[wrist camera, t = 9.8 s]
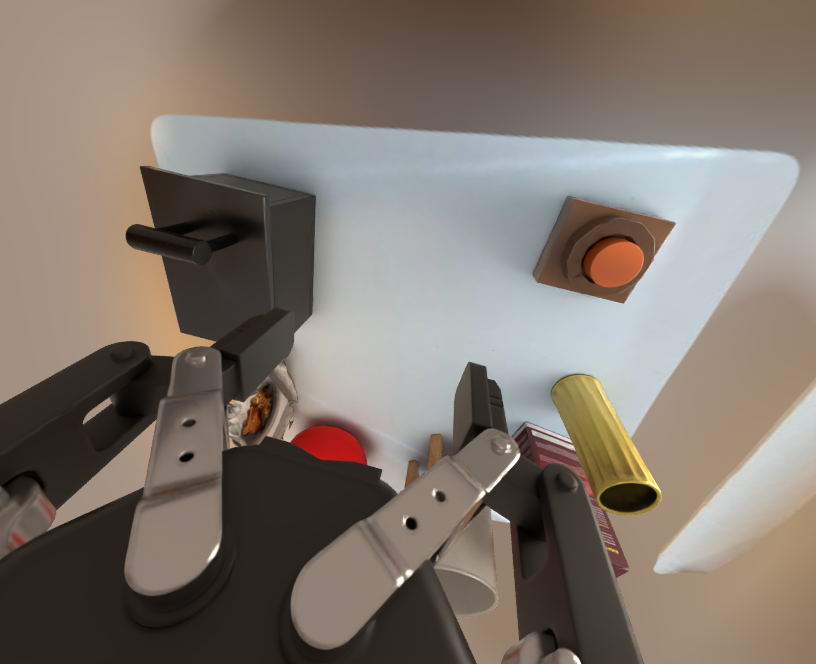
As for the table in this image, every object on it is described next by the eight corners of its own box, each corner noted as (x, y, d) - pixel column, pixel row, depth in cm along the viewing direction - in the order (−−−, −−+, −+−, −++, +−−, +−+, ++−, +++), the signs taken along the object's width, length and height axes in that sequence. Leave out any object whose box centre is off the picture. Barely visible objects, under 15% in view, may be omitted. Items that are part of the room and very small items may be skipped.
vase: (567, 415, 41) (611, 524, 29) (541, 388, 39) (577, 492, 27) (611, 395, 38) (681, 506, 26) (585, 365, 37) (647, 469, 24)
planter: (397, 438, 49) (369, 565, 33) (476, 429, 45) (485, 568, 30) (421, 486, 54) (406, 614, 39) (493, 482, 51) (508, 620, 35)
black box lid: (147, 165, 24) (68, 167, 19) (269, 195, 23) (220, 204, 18) (186, 328, 32) (137, 359, 27) (276, 352, 31) (243, 387, 27)
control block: (567, 196, 28) (582, 201, 24) (662, 218, 28) (691, 227, 24) (532, 275, 32) (540, 289, 29) (614, 295, 32) (633, 311, 28)
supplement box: (507, 440, 45) (528, 561, 31) (525, 420, 42) (556, 542, 29) (558, 460, 45) (600, 587, 32) (579, 441, 43) (634, 571, 29)
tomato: (312, 401, 47) (276, 462, 38) (384, 437, 49) (366, 503, 40) (292, 441, 53) (256, 502, 44) (356, 471, 55) (335, 536, 46)
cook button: (597, 232, 26) (606, 236, 24) (643, 243, 26) (654, 248, 24) (575, 274, 28) (581, 281, 26) (617, 285, 28) (626, 292, 26)
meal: (264, 340, 42) (194, 405, 31) (292, 345, 42) (232, 413, 31) (276, 414, 50) (224, 487, 39) (300, 419, 50) (255, 494, 39)
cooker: (224, 173, 31) (150, 178, 24) (315, 195, 31) (270, 207, 24) (239, 295, 39) (186, 328, 32) (312, 314, 39) (277, 351, 31)
